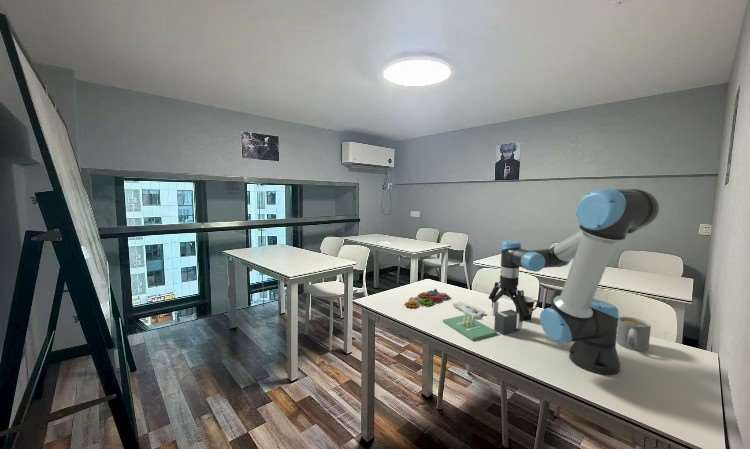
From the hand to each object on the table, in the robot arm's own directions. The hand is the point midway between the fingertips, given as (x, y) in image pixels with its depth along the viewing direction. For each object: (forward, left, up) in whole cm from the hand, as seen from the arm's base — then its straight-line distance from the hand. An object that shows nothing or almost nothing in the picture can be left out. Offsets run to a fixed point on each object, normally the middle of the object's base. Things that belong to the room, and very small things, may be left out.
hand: (506, 321), depth 136 cm
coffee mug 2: (-31, -34, -4) cm, 46 cm away
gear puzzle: (+47, +13, -5) cm, 49 cm away
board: (+9, +14, -4) cm, 17 cm away
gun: (+23, +2, -5) cm, 24 cm away
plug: (0, 0, -4) cm, 4 cm away
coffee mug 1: (+5, -19, -4) cm, 20 cm away
